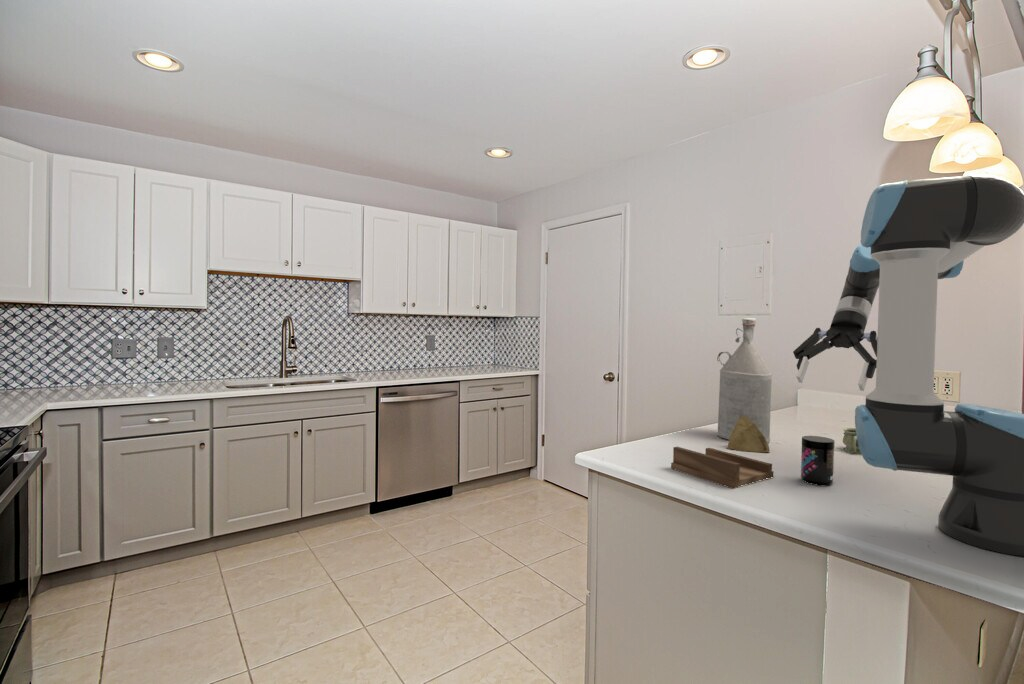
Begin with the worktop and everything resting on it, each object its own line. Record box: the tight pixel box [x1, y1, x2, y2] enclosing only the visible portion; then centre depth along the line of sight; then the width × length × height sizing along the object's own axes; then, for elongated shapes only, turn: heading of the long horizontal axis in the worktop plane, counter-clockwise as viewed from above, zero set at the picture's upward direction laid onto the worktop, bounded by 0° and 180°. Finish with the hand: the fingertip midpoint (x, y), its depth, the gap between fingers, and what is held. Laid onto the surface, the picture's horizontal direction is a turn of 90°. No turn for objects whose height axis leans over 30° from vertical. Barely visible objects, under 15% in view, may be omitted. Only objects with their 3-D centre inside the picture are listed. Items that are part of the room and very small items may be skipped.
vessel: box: [842, 427, 862, 456], centre depth 148 cm, size 12×9×6 cm
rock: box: [726, 416, 771, 453], centre depth 148 cm, size 11×9×10 cm
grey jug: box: [716, 317, 773, 444], centre depth 162 cm, size 13×17×40 cm
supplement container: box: [800, 435, 836, 486], centre depth 120 cm, size 7×7×10 cm
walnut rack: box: [670, 446, 775, 489], centre depth 126 cm, size 16×18×6 cm
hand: (828, 383), depth 124 cm, fingers open, 13 cm apart
